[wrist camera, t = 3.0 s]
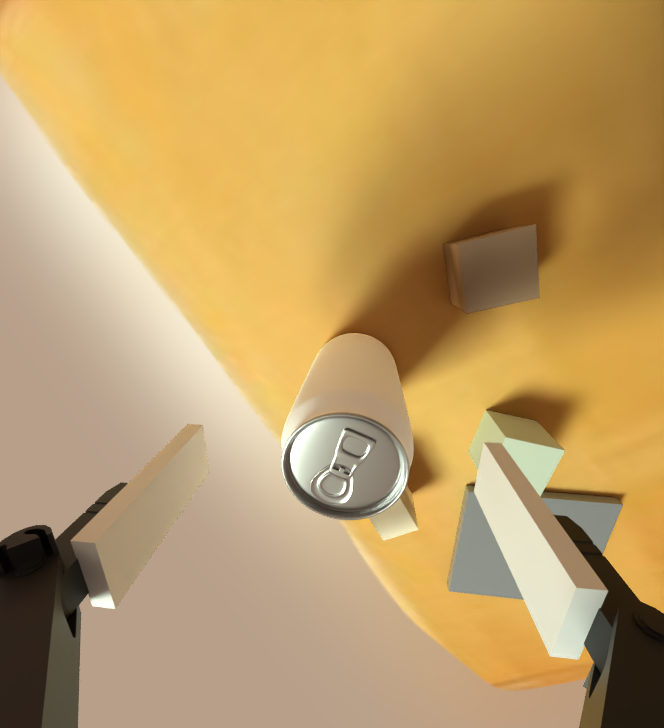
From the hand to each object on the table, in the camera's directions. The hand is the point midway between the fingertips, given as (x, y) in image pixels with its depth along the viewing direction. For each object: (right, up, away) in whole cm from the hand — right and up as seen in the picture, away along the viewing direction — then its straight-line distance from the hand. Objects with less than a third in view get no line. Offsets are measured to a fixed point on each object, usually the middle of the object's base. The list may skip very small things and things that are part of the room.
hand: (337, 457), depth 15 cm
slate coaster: (+17, -12, +14) cm, 25 cm away
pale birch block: (+4, -6, +13) cm, 15 cm away
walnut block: (+10, +11, +7) cm, 16 cm away
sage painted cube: (+13, -1, +11) cm, 17 cm away
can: (+2, +4, +10) cm, 11 cm away
